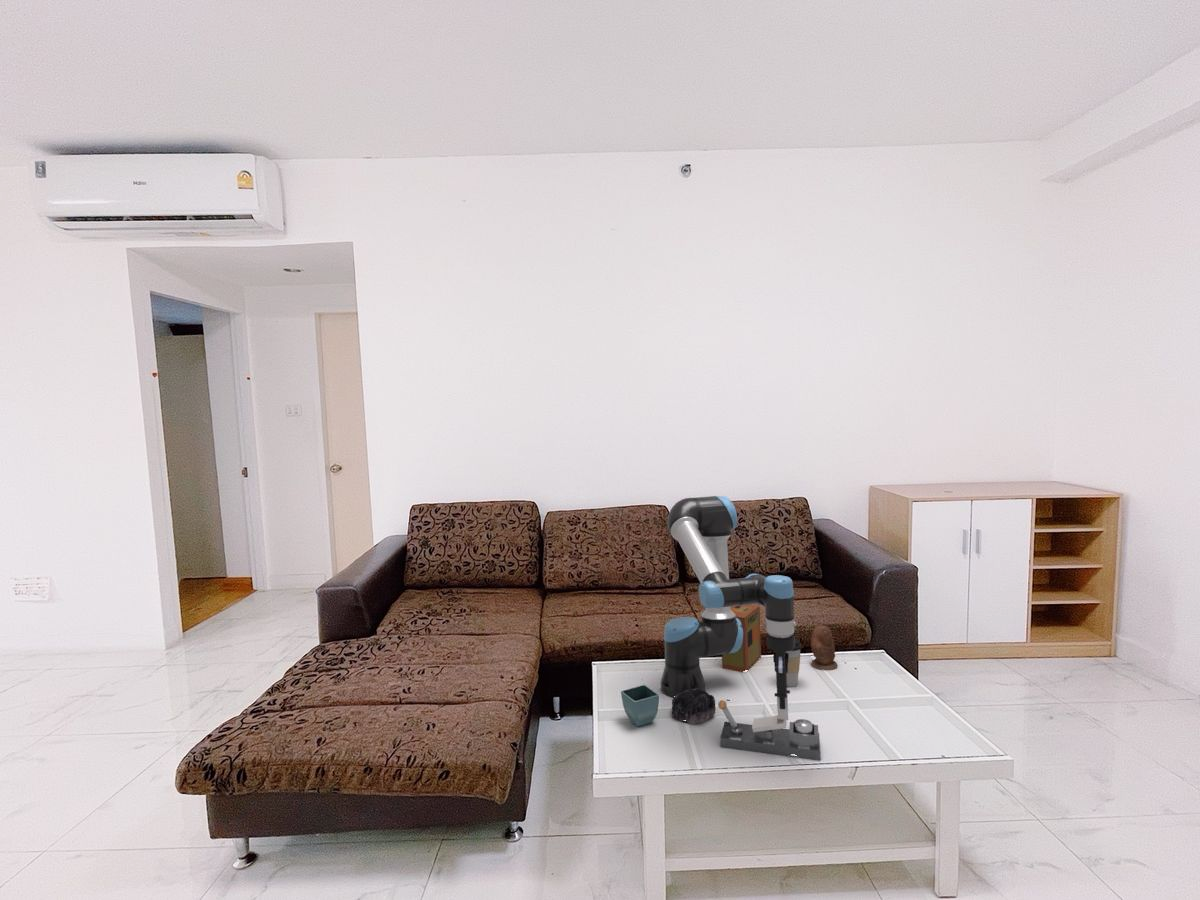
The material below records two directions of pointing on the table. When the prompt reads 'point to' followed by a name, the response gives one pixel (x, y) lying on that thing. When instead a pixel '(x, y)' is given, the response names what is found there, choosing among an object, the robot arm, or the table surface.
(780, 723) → the plate
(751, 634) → the box
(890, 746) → the table surface
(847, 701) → the table surface
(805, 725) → the button
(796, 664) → the coffee cup
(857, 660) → the table surface
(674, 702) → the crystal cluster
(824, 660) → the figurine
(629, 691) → the flower pot
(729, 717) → the toggle
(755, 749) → the panel
